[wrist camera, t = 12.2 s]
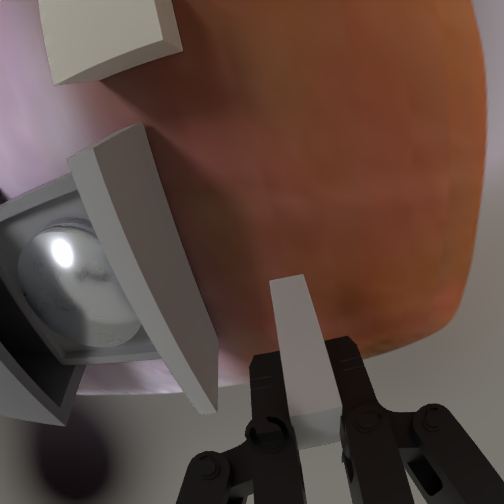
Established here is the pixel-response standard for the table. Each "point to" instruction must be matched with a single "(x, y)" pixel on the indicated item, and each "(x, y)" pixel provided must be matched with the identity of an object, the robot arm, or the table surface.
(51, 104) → the table surface
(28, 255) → the disc
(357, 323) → the table surface
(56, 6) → the pedestal
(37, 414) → the housing
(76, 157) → the tray
